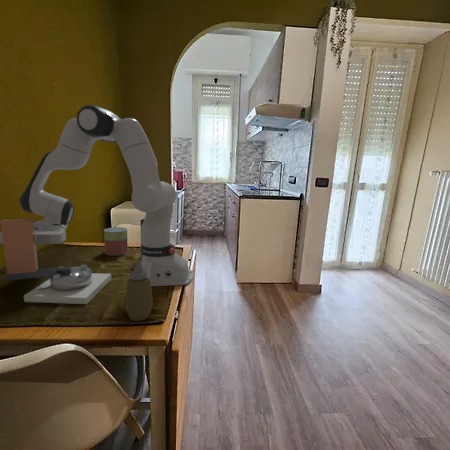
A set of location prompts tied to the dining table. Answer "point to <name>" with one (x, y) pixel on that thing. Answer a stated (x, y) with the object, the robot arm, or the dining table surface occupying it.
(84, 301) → the white square board
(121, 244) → the canned food
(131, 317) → the squeeze bottle
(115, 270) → the dining table surface
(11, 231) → the silver brown l-shaped piece
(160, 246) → the robot arm
